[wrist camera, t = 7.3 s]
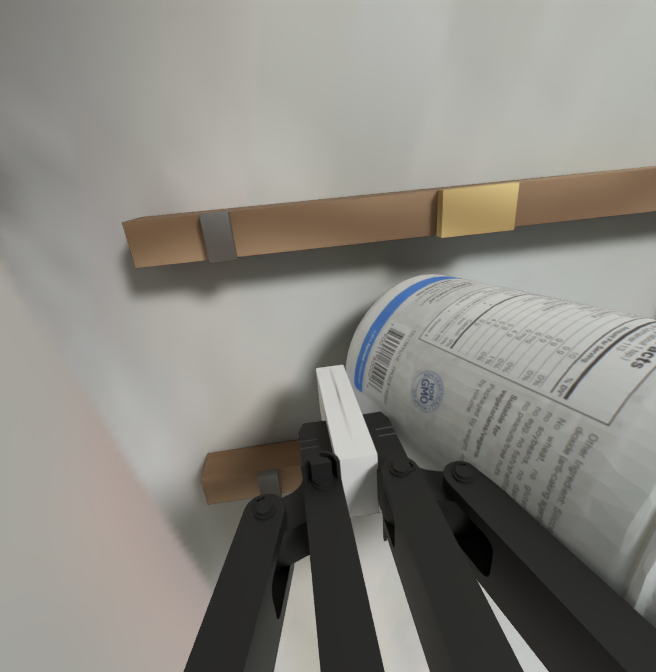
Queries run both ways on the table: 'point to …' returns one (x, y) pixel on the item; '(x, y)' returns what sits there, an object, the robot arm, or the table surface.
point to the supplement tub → (526, 409)
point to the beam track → (363, 227)
